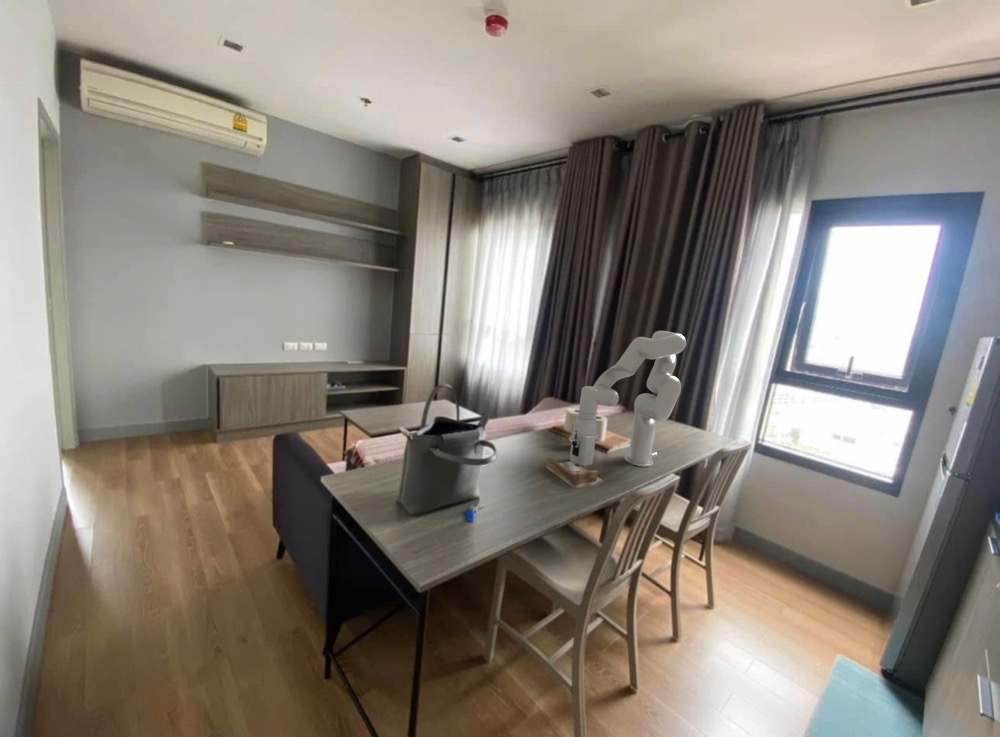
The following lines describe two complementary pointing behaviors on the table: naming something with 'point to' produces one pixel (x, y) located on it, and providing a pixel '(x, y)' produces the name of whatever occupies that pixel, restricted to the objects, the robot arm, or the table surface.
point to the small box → (584, 451)
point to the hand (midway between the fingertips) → (581, 454)
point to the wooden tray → (573, 473)
